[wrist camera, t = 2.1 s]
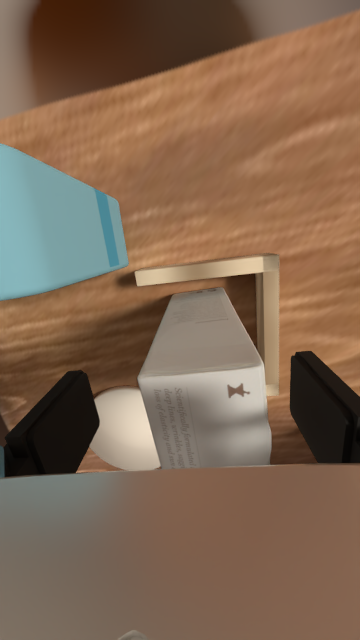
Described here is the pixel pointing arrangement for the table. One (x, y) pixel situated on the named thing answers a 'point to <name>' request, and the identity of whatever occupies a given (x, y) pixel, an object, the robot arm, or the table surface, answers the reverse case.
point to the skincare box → (205, 386)
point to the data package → (53, 228)
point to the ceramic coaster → (124, 430)
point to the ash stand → (265, 297)
